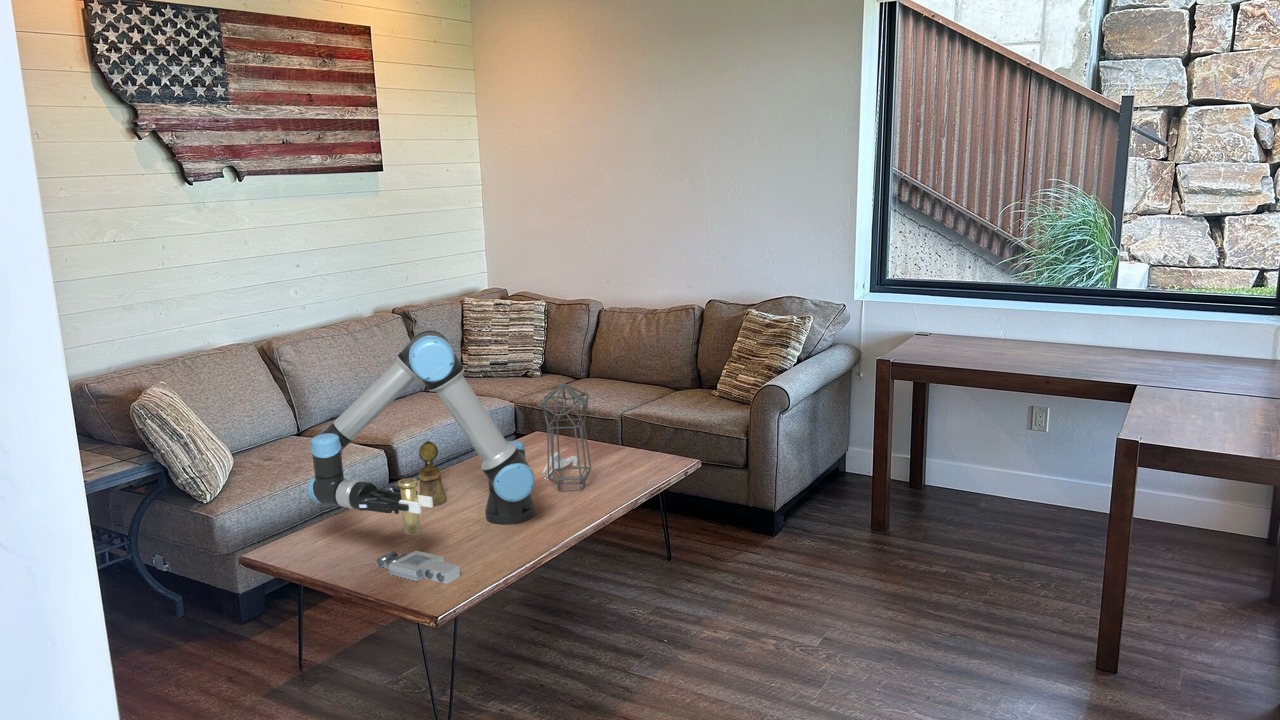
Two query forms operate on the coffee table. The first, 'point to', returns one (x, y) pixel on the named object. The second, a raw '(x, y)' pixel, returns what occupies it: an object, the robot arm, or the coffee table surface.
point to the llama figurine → (562, 463)
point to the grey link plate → (427, 568)
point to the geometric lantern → (585, 403)
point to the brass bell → (431, 475)
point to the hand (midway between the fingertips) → (425, 505)
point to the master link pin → (409, 494)
